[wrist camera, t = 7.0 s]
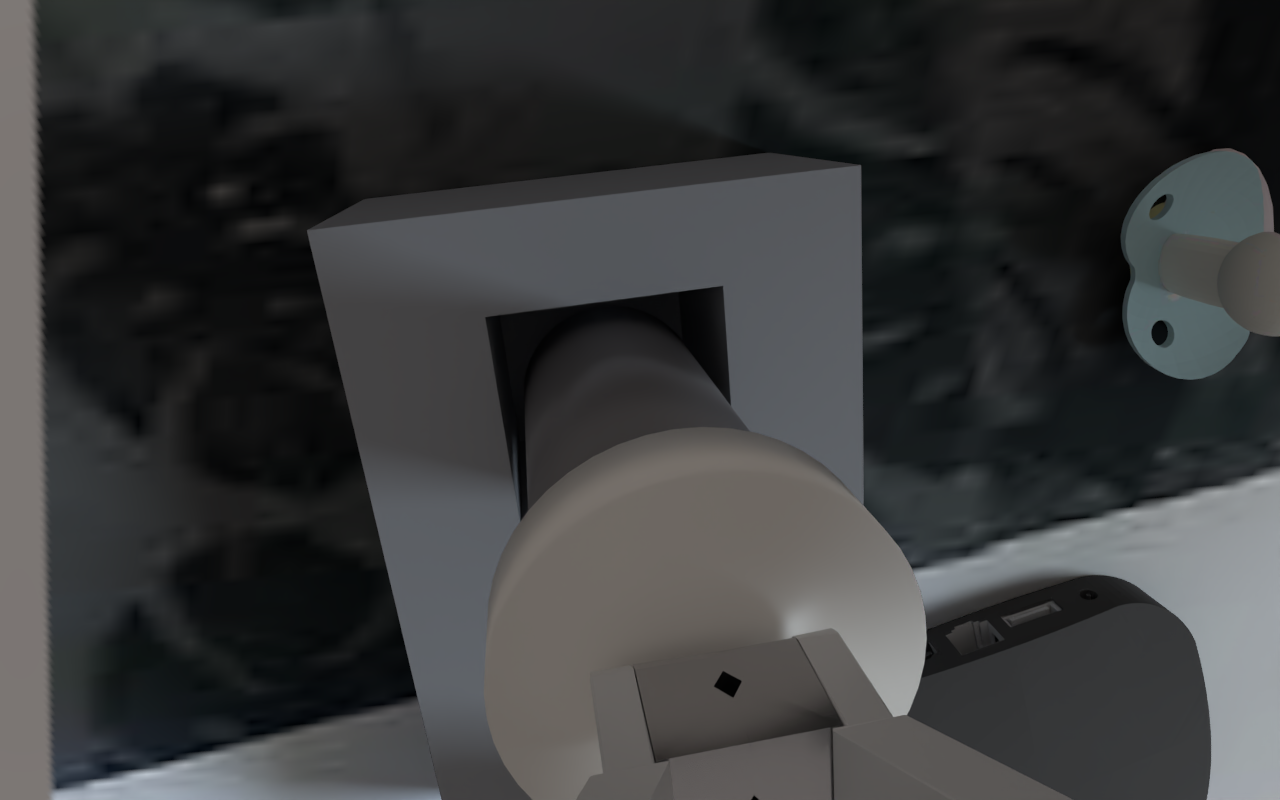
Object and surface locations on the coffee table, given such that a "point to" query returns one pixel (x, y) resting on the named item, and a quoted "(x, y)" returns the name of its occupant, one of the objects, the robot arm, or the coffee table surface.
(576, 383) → the knob white
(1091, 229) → the coffee table surface
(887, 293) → the coffee table surface
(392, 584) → the mount
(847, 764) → the robot arm
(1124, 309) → the pacifier
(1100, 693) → the media streaming box
